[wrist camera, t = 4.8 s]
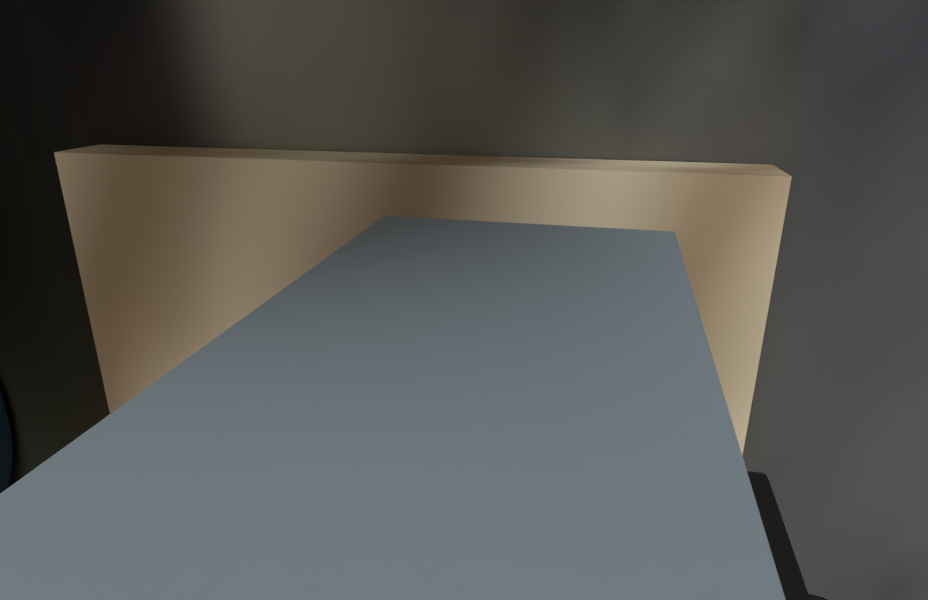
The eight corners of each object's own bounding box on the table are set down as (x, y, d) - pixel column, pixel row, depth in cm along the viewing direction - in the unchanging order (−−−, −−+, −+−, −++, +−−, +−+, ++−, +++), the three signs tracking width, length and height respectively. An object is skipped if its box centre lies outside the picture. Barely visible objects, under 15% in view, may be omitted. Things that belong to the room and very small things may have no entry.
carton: (674, 231, 11) (861, 845, 2) (634, 566, 13) (660, 1417, 5) (363, 214, 12) (-226, 603, 4) (381, 526, 14) (63, 1170, 6)
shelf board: (772, 164, 14) (825, 197, 10) (699, 607, 18) (720, 729, 15) (99, 144, 17) (-22, 165, 13) (172, 529, 21) (93, 616, 17)
